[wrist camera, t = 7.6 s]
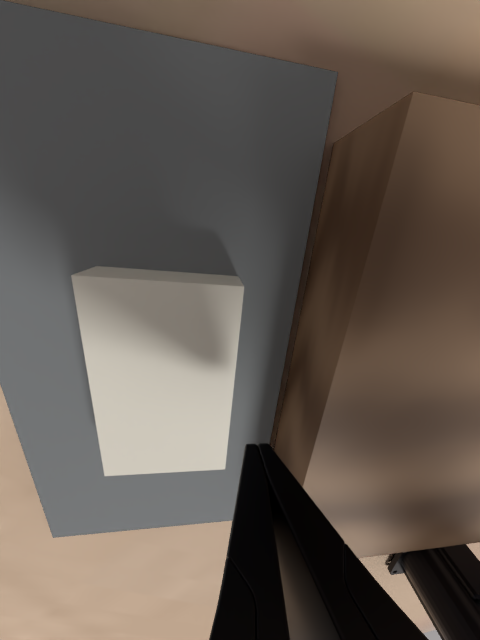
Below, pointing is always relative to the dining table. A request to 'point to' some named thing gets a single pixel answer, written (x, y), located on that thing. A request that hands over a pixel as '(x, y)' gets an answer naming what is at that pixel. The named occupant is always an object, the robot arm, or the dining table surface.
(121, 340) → the tile
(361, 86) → the dining table surface
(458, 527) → the brown flat block
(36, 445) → the mat
